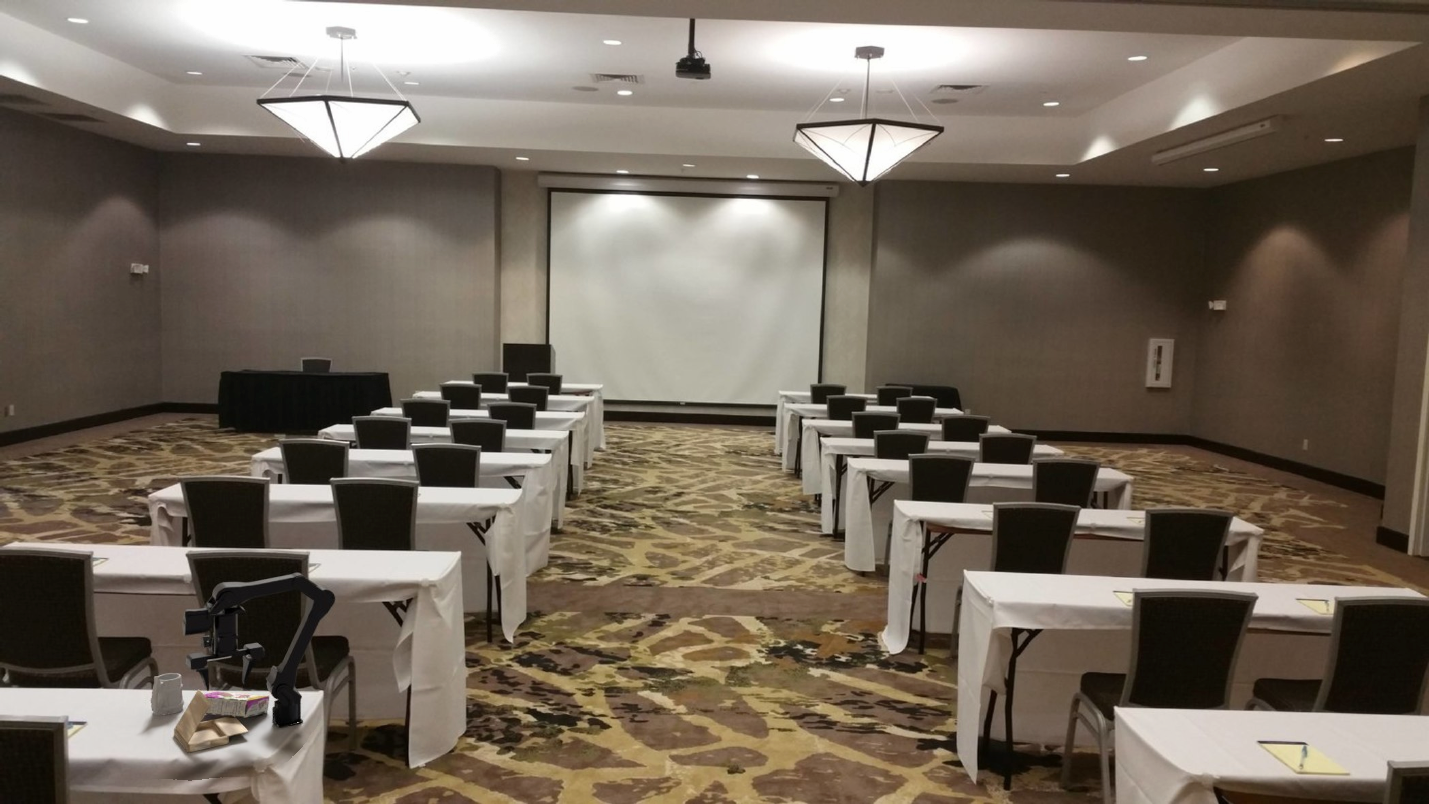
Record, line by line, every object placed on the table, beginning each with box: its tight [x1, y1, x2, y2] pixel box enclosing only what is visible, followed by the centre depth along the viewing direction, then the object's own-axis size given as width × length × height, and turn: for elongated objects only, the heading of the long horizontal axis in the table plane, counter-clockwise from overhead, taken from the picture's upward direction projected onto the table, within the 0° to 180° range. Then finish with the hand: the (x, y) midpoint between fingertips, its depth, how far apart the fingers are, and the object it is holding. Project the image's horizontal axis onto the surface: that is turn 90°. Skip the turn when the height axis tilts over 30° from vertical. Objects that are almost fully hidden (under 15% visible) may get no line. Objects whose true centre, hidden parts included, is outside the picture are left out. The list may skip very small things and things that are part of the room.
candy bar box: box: [203, 691, 270, 719], centre depth 291 cm, size 11×5×16 cm
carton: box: [173, 716, 249, 753], centre depth 277 cm, size 15×15×2 cm
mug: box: [150, 672, 185, 716], centre depth 292 cm, size 8×12×12 cm, turn 177°
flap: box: [174, 689, 212, 743], centre depth 274 cm, size 1×12×11 cm
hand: (225, 686), depth 279 cm, fingers open, 9 cm apart
